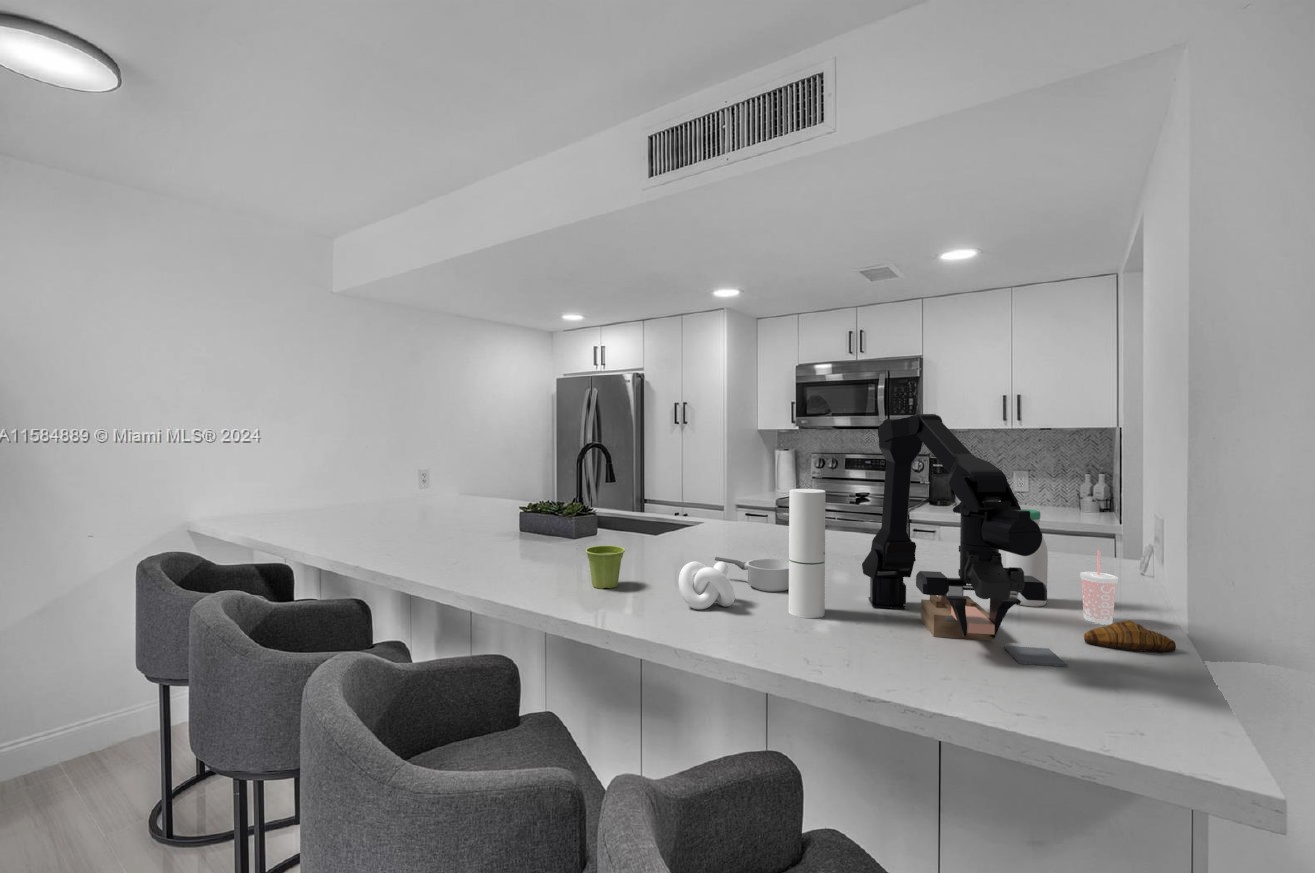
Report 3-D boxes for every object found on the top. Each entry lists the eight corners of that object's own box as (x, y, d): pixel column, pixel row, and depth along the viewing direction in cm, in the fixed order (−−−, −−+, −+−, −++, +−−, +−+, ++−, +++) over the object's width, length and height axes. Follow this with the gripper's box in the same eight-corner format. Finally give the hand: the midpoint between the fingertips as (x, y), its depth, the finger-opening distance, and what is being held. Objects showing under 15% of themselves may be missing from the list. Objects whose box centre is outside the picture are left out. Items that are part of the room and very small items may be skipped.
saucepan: (724, 574, 157) (724, 552, 157) (801, 584, 147) (801, 561, 147) (705, 584, 147) (705, 561, 147) (786, 596, 137) (786, 571, 137)
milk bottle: (1052, 608, 128) (1055, 513, 127) (1011, 605, 130) (1014, 512, 129) (1038, 597, 136) (1041, 508, 135) (1000, 595, 137) (1002, 506, 137)
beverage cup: (1084, 623, 119) (1085, 551, 118) (1075, 614, 124) (1076, 545, 124) (1122, 627, 116) (1123, 554, 116) (1111, 617, 122) (1112, 547, 122)
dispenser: (934, 637, 111) (934, 598, 111) (921, 619, 121) (921, 584, 121) (994, 641, 109) (994, 602, 109) (975, 622, 119) (976, 586, 119)
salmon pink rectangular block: (968, 632, 101) (968, 623, 101) (951, 614, 111) (951, 605, 111) (994, 634, 100) (994, 624, 100) (975, 615, 110) (975, 606, 110)
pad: (1019, 663, 99) (1019, 660, 99) (1003, 647, 106) (1003, 645, 106) (1067, 666, 98) (1067, 664, 98) (1048, 650, 104) (1048, 648, 104)
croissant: (1092, 651, 105) (1092, 622, 105) (1076, 638, 111) (1077, 611, 111) (1186, 660, 101) (1187, 630, 101) (1164, 645, 108) (1165, 617, 108)
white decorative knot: (685, 616, 123) (686, 571, 123) (672, 599, 135) (672, 558, 135) (739, 612, 125) (739, 568, 125) (721, 596, 137) (721, 556, 137)
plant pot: (632, 584, 147) (632, 548, 147) (609, 593, 139) (609, 555, 139) (601, 578, 152) (601, 543, 152) (577, 587, 144) (577, 550, 144)
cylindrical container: (827, 610, 127) (828, 489, 126) (821, 620, 120) (822, 493, 120) (792, 605, 130) (793, 488, 129) (785, 615, 123) (785, 491, 123)
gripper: (931, 550, 96) (930, 649, 96) (1063, 555, 92) (1062, 658, 93) (915, 537, 107) (914, 626, 107) (1033, 542, 103) (1032, 633, 104)
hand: (978, 636), depth 102 cm, fingers closed on salmon pink rectangular block, 4 cm apart
